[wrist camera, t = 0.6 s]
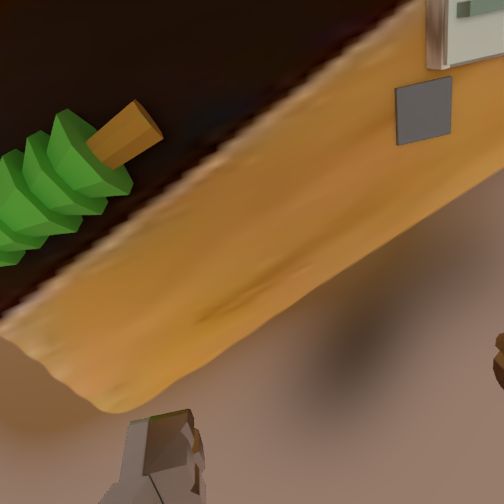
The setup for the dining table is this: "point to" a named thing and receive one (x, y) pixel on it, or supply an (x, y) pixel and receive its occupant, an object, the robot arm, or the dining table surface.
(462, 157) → the dining table surface
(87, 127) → the decorative tree
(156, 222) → the dining table surface
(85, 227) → the dining table surface
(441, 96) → the slate tile
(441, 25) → the sliding lid box
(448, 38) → the sliding lid panel
